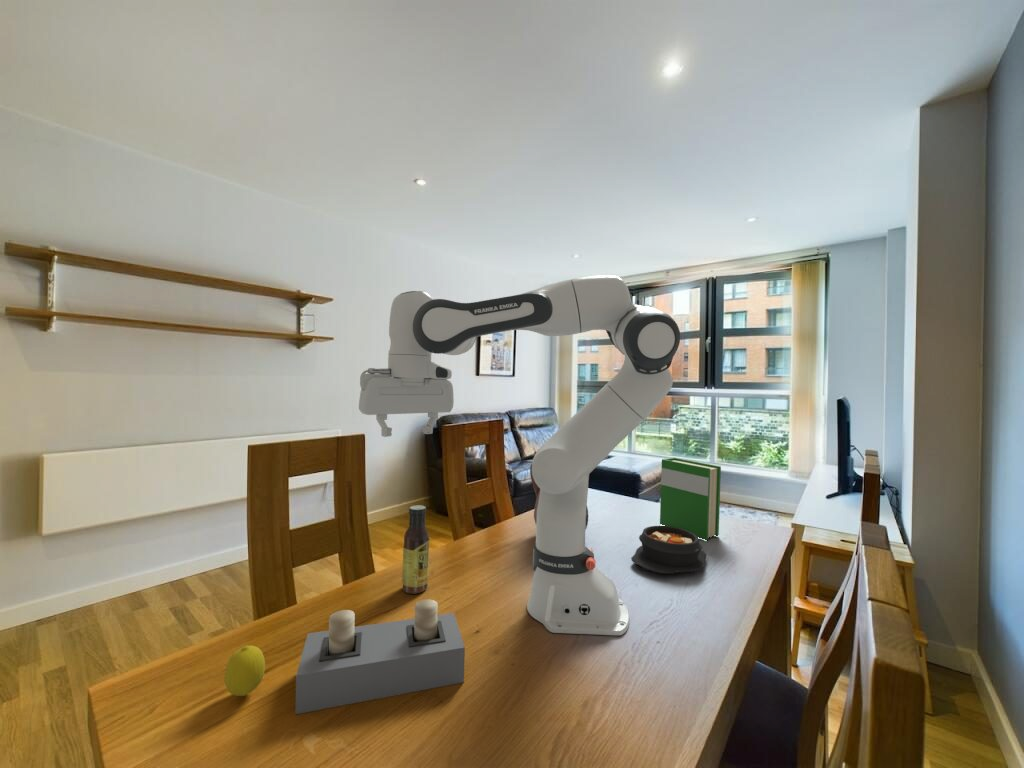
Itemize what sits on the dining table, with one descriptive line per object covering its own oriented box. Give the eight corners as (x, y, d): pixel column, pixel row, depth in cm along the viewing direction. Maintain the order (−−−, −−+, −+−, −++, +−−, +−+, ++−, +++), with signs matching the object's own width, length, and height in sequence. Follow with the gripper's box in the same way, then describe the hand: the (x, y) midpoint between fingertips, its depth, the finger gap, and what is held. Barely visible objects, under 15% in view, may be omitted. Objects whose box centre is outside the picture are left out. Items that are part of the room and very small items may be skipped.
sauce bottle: (421, 596, 100) (423, 512, 100) (397, 593, 102) (399, 510, 101) (432, 583, 107) (434, 504, 107) (409, 580, 108) (410, 502, 108)
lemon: (236, 683, 71) (237, 636, 71) (271, 682, 72) (271, 635, 72) (216, 709, 66) (217, 658, 66) (254, 708, 66) (254, 657, 66)
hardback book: (718, 537, 144) (720, 466, 143) (706, 542, 139) (708, 468, 139) (672, 522, 158) (674, 457, 158) (659, 525, 154) (661, 459, 153)
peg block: (453, 643, 83) (454, 611, 83) (463, 682, 73) (464, 646, 73) (307, 666, 76) (307, 632, 76) (295, 714, 65) (296, 673, 65)
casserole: (674, 588, 108) (675, 555, 107) (615, 562, 122) (616, 533, 122) (722, 564, 123) (723, 535, 123) (664, 543, 138) (665, 517, 137)
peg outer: (354, 641, 75) (355, 608, 74) (353, 655, 71) (354, 621, 71) (330, 645, 73) (330, 611, 73) (327, 660, 70) (327, 624, 69)
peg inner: (435, 629, 79) (436, 598, 79) (438, 642, 75) (439, 609, 75) (413, 632, 78) (414, 600, 77) (415, 646, 74) (415, 612, 74)
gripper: (366, 367, 81) (364, 440, 81) (458, 371, 94) (456, 433, 94) (354, 367, 86) (353, 436, 86) (443, 371, 99) (441, 430, 99)
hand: (407, 434), depth 90 cm, fingers open, 8 cm apart
